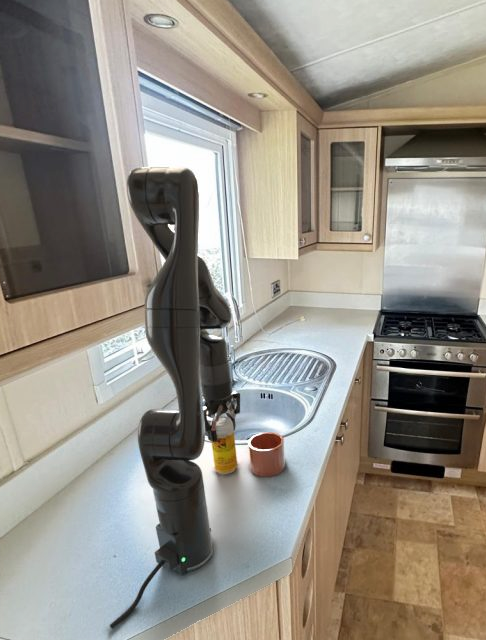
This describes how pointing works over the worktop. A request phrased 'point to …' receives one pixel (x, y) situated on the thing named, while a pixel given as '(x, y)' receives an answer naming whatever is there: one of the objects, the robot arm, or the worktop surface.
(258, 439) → the holder
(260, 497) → the worktop surface
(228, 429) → the yellow labelled bottle
